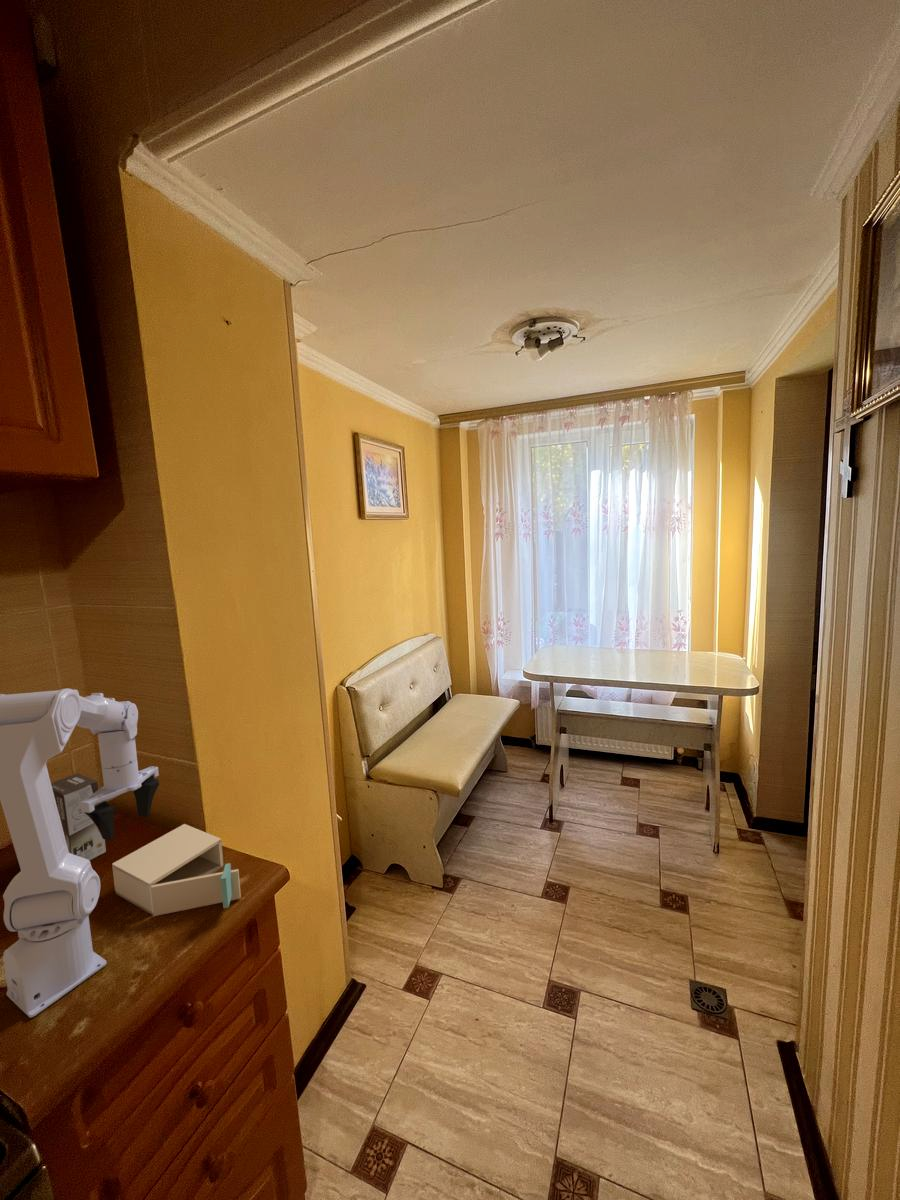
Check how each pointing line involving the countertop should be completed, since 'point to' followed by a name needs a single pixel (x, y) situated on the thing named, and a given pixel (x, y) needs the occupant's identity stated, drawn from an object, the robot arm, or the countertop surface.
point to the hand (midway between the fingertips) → (126, 826)
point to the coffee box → (78, 816)
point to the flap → (196, 892)
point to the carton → (166, 863)
